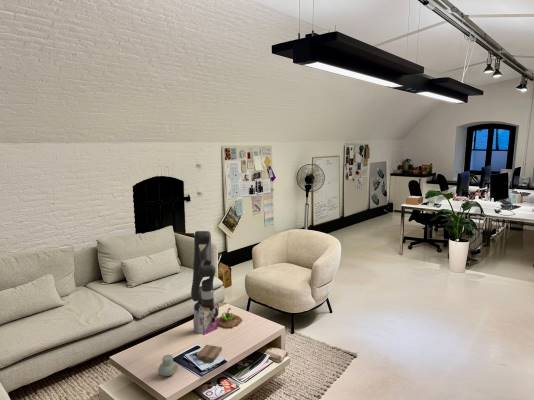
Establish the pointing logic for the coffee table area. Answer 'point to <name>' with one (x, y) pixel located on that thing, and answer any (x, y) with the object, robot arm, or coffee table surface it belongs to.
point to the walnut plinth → (209, 353)
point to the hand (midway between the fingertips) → (208, 321)
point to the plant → (228, 320)
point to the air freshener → (168, 366)
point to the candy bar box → (206, 321)
